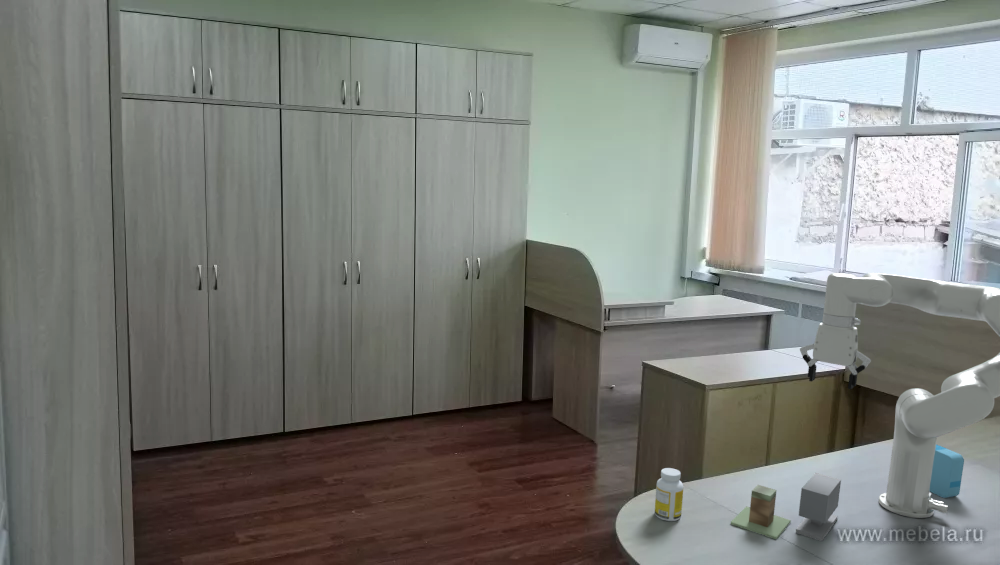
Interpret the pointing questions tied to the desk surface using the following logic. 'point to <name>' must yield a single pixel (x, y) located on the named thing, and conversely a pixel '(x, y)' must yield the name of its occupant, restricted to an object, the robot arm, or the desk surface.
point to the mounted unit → (818, 506)
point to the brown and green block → (762, 505)
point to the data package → (946, 472)
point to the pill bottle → (669, 495)
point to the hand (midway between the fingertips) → (831, 384)
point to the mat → (770, 531)
